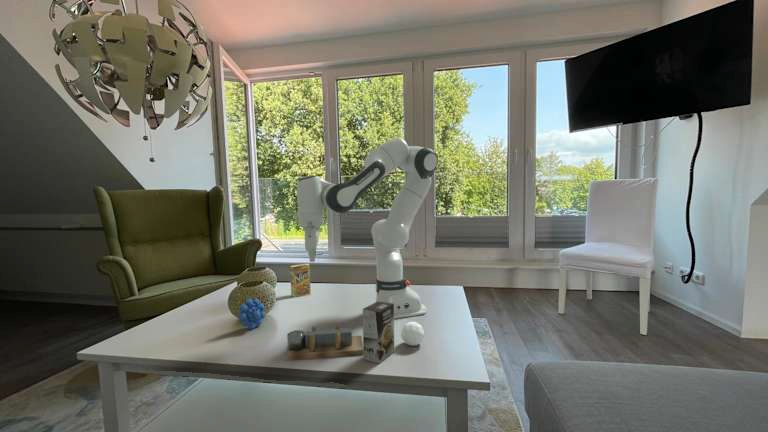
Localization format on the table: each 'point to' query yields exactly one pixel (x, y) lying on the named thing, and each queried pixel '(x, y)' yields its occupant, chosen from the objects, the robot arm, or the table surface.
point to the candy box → (300, 280)
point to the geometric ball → (412, 333)
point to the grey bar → (318, 338)
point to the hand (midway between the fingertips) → (313, 258)
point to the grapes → (251, 313)
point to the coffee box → (378, 331)
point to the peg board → (328, 349)
